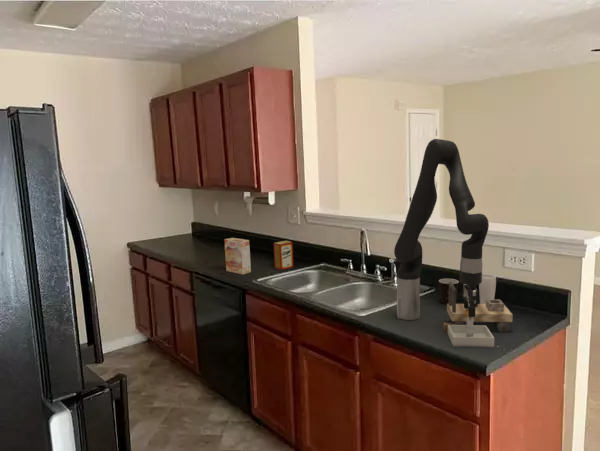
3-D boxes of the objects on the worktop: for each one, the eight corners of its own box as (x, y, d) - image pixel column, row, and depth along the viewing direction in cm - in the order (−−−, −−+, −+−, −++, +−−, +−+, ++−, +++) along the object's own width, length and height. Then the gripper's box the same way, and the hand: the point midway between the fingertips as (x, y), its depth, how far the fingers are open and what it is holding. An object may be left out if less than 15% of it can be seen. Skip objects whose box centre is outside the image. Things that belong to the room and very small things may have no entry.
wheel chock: (444, 332, 185) (444, 325, 184) (443, 329, 187) (443, 322, 187) (454, 332, 184) (454, 325, 184) (452, 329, 187) (452, 322, 186)
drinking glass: (478, 306, 212) (479, 273, 210) (495, 307, 210) (496, 274, 207) (477, 311, 206) (478, 277, 204) (494, 312, 203) (496, 278, 201)
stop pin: (465, 339, 176) (466, 312, 174) (463, 335, 179) (464, 309, 177) (475, 339, 175) (476, 312, 173) (473, 335, 179) (474, 309, 177)
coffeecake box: (225, 271, 290) (223, 239, 286) (234, 268, 295) (232, 237, 292) (242, 274, 280) (240, 241, 277) (251, 272, 285) (249, 239, 282)
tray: (453, 346, 171) (453, 337, 171) (447, 333, 183) (447, 324, 183) (494, 347, 170) (494, 337, 169) (485, 334, 181) (485, 325, 181)
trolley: (451, 331, 185) (452, 289, 182) (446, 320, 197) (447, 281, 194) (511, 332, 182) (513, 290, 179) (503, 321, 194) (504, 281, 191)
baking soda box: (280, 270, 287) (279, 243, 285) (274, 268, 293) (273, 242, 290) (293, 267, 293) (292, 241, 290) (287, 265, 298) (286, 240, 296)
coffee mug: (438, 304, 216) (438, 283, 214) (438, 299, 224) (438, 278, 222) (465, 306, 213) (466, 284, 211) (464, 300, 221) (465, 279, 219)
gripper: (456, 264, 179) (455, 305, 182) (463, 274, 165) (462, 319, 168) (477, 264, 178) (475, 306, 181) (486, 275, 164) (484, 320, 167)
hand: (469, 312), depth 175 cm, fingers open, 8 cm apart
